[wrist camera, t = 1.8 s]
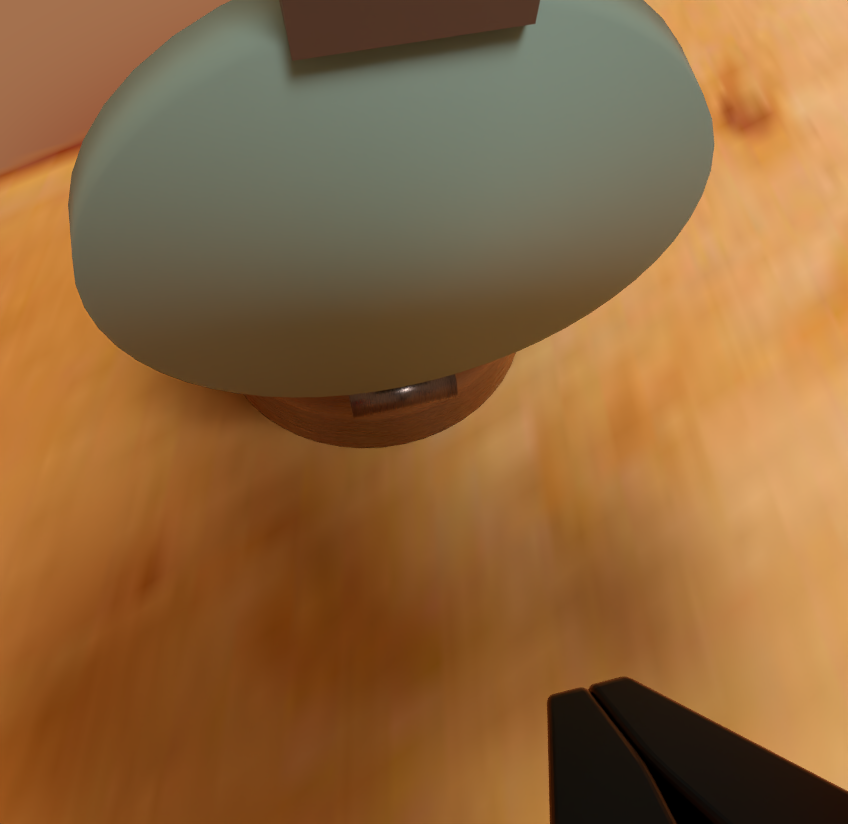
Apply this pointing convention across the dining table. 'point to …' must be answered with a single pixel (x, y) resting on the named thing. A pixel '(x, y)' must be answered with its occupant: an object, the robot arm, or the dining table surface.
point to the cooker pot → (386, 409)
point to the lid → (381, 186)
